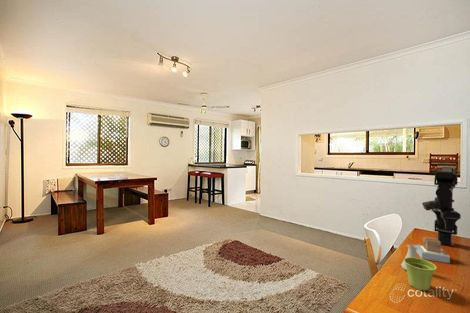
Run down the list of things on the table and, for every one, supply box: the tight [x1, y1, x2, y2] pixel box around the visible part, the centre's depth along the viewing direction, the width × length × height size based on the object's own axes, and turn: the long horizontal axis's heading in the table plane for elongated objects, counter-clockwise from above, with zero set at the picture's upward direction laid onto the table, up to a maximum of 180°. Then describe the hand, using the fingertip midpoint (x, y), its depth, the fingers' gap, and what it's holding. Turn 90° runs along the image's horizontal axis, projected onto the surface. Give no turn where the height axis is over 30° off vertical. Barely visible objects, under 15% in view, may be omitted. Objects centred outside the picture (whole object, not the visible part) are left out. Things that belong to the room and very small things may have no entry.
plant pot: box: [403, 257, 437, 292], centre depth 86 cm, size 9×9×9 cm
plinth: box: [415, 244, 451, 264], centre depth 111 cm, size 10×10×3 cm
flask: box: [400, 244, 418, 271], centre depth 98 cm, size 7×7×10 cm
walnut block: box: [422, 236, 442, 253], centre depth 111 cm, size 5×5×5 cm
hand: (443, 227), depth 116 cm, fingers open, 9 cm apart
